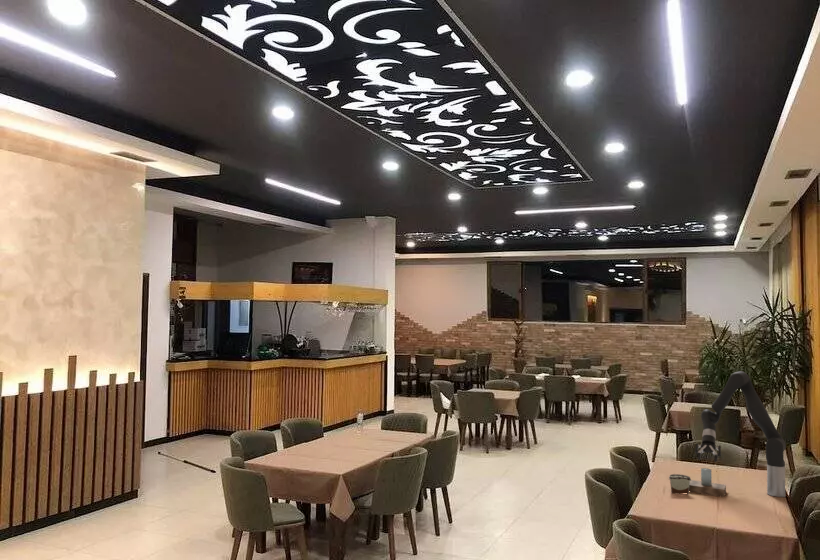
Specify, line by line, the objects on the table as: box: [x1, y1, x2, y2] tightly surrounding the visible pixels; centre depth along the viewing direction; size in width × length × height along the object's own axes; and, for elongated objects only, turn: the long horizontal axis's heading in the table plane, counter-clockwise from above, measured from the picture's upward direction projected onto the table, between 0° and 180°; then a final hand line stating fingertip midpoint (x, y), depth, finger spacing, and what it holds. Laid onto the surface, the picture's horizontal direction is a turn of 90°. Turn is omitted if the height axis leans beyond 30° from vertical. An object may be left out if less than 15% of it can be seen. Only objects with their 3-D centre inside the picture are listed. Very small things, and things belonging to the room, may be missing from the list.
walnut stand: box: [689, 479, 727, 498], centre depth 380 cm, size 20×14×4 cm
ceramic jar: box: [700, 467, 713, 486], centre depth 380 cm, size 6×6×9 cm
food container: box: [668, 473, 692, 495], centre depth 376 cm, size 12×6×10 cm, turn 84°
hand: (707, 460), depth 386 cm, fingers open, 8 cm apart
